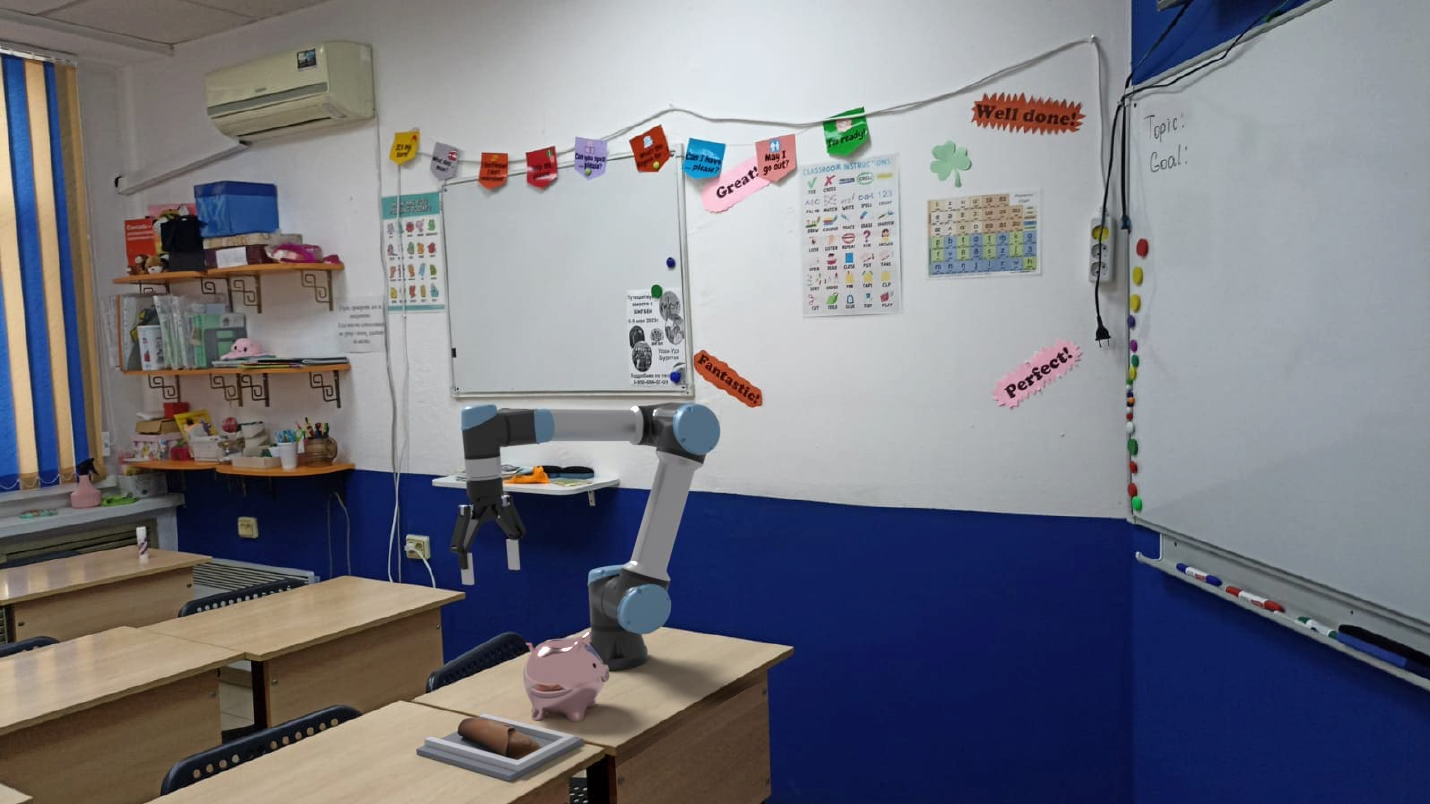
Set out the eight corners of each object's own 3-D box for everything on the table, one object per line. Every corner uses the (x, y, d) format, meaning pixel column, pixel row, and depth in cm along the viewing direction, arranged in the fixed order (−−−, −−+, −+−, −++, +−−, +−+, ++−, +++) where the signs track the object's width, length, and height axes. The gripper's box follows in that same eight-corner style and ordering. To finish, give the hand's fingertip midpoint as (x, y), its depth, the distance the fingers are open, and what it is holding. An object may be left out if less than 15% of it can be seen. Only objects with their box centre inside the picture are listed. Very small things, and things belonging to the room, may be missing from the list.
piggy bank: (597, 726, 195) (593, 647, 194) (513, 723, 199) (508, 646, 198) (620, 699, 210) (616, 626, 209) (541, 697, 214) (537, 625, 213)
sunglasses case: (546, 746, 182) (528, 721, 179) (519, 776, 178) (501, 751, 175) (495, 723, 195) (478, 700, 192) (469, 750, 191) (451, 727, 188)
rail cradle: (492, 720, 201) (491, 710, 201) (583, 743, 187) (582, 732, 187) (416, 754, 185) (415, 742, 185) (509, 781, 171) (509, 769, 171)
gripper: (512, 469, 220) (519, 562, 221) (426, 486, 199) (434, 589, 200) (537, 469, 216) (544, 564, 217) (452, 487, 195) (460, 592, 196)
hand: (492, 576), depth 208 cm, fingers open, 13 cm apart
